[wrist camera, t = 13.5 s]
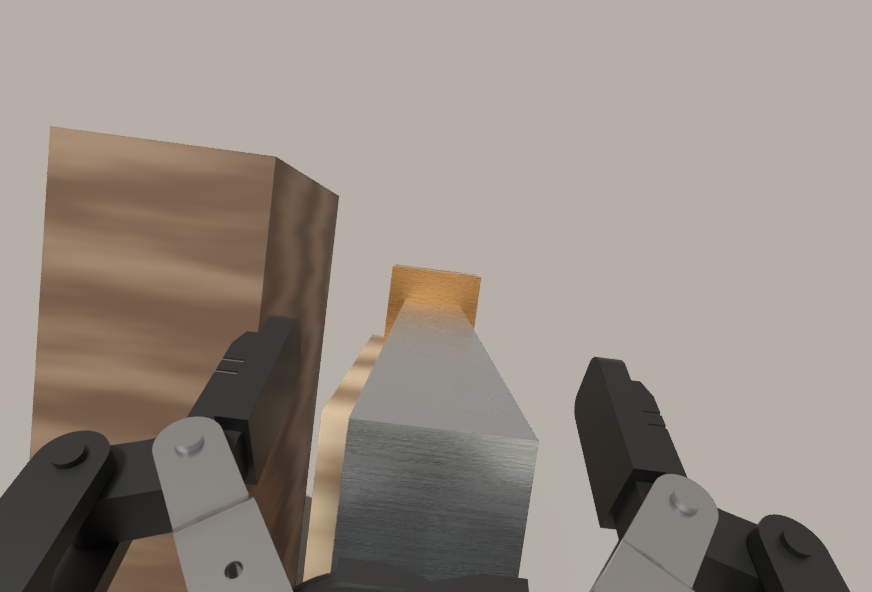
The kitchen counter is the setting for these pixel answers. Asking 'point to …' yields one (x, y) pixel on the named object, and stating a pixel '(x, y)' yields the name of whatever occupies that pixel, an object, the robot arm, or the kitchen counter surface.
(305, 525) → the kitchen counter surface
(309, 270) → the walnut stand
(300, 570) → the kitchen counter surface
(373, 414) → the steel pin
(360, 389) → the beige slab
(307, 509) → the kitchen counter surface
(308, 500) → the kitchen counter surface
